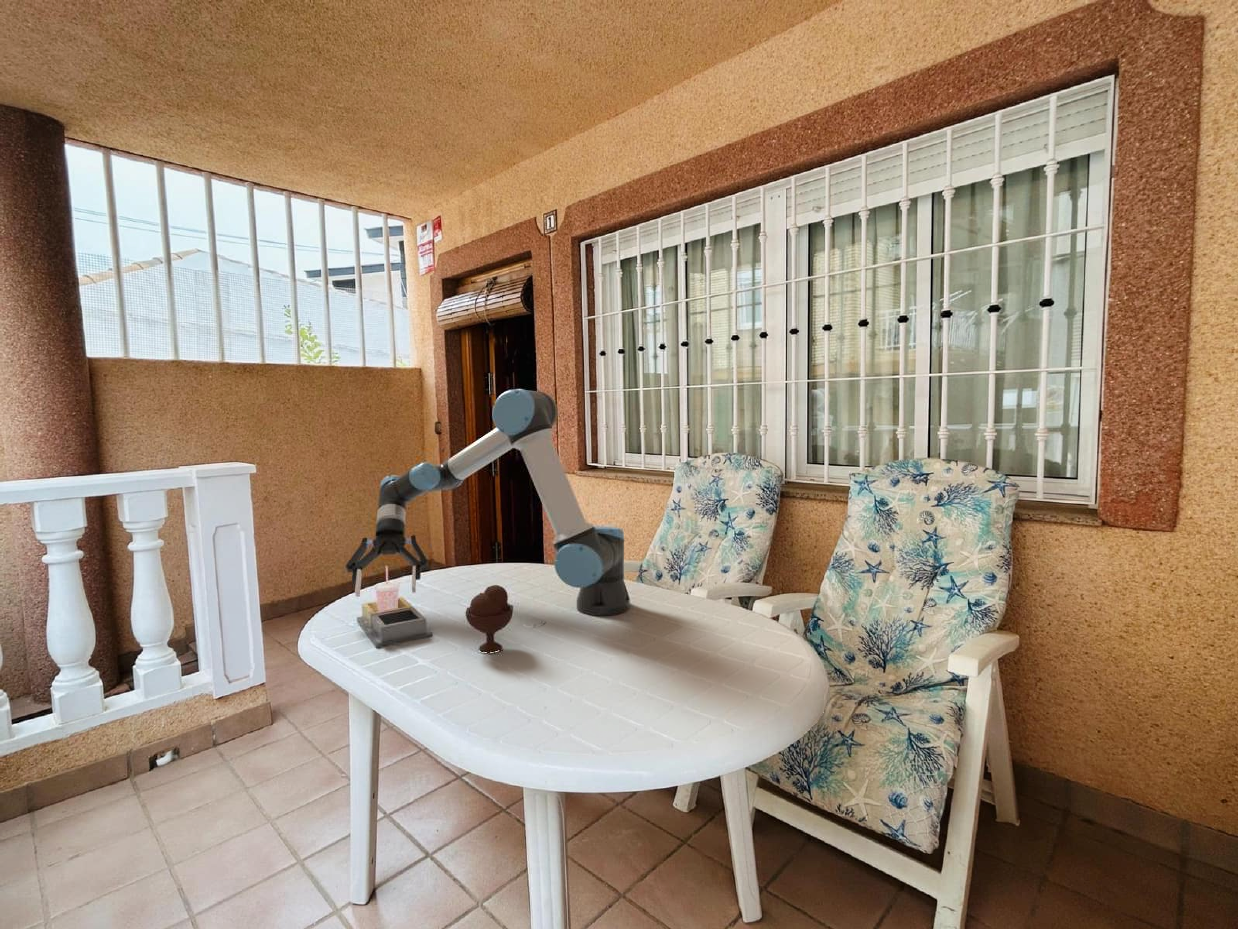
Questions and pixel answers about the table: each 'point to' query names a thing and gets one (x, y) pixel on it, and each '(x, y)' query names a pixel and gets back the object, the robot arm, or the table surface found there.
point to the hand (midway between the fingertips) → (385, 592)
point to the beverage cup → (387, 594)
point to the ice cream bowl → (490, 615)
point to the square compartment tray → (392, 623)
